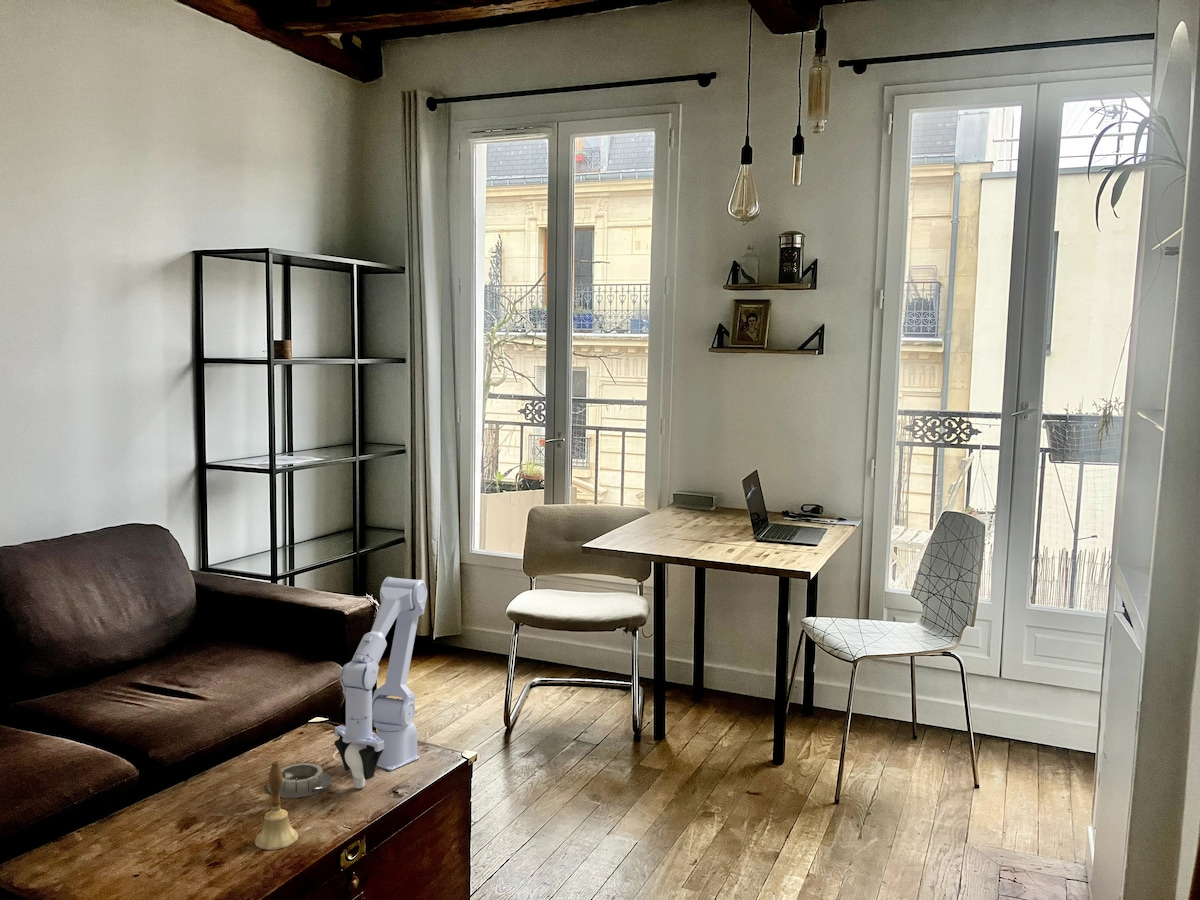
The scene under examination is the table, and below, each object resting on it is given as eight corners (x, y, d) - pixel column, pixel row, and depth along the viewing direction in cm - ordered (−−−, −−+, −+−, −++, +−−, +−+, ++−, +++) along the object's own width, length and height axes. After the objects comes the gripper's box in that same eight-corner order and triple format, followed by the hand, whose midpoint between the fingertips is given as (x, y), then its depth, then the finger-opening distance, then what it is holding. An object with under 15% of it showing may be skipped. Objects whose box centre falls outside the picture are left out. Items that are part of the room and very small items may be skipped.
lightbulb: (377, 782, 214) (377, 736, 213) (368, 795, 207) (368, 747, 206) (350, 781, 214) (350, 734, 213) (340, 793, 208) (340, 745, 207)
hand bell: (245, 841, 186) (244, 764, 185) (280, 825, 193) (280, 750, 192) (272, 854, 182) (271, 775, 180) (307, 837, 189) (306, 761, 187)
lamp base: (306, 765, 222) (306, 754, 222) (344, 782, 214) (344, 770, 213) (254, 786, 210) (253, 774, 210) (292, 804, 202) (292, 792, 202)
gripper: (323, 712, 210) (323, 770, 211) (366, 728, 202) (366, 788, 203) (348, 703, 216) (349, 760, 217) (391, 718, 207) (391, 777, 209)
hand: (359, 773), depth 210 cm, fingers closed on lightbulb, 6 cm apart
